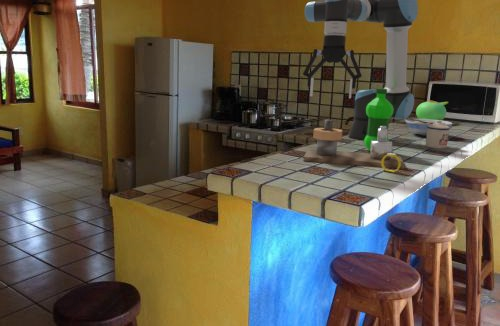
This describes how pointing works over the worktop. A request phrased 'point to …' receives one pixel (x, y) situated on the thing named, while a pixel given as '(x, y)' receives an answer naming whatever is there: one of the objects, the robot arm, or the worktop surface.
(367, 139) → the plastic bottle
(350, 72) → the robot arm
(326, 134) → the octagonal notched ring
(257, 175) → the worktop surface
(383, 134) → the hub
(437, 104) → the green pumpkin
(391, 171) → the watch
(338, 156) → the tool board
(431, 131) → the teacup with lid
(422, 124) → the ramen bowl
